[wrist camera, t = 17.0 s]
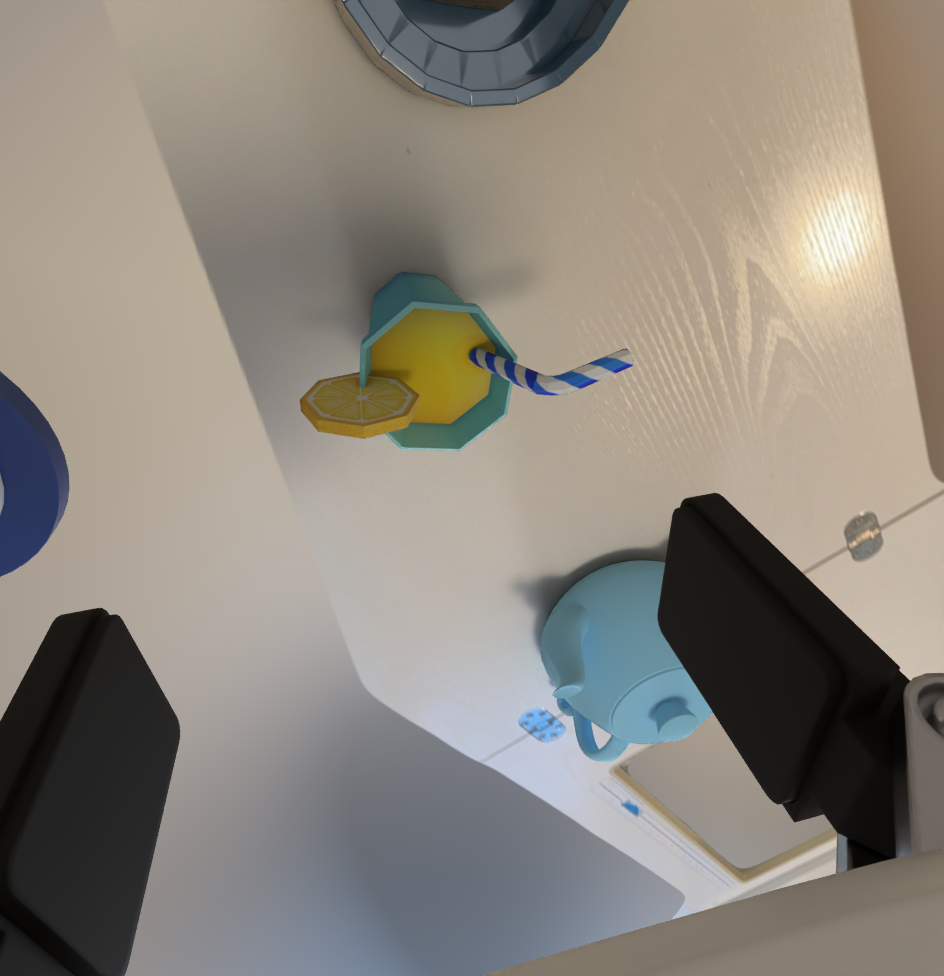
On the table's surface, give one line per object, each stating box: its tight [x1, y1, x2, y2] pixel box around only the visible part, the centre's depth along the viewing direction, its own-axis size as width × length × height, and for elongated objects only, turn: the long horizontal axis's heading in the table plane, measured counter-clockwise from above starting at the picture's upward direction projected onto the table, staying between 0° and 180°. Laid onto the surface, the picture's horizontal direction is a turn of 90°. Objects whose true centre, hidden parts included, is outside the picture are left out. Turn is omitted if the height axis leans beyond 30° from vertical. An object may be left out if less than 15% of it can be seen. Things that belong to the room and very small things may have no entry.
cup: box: [300, 272, 634, 451], centre depth 30 cm, size 14×8×15 cm, turn 105°
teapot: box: [541, 560, 713, 762], centre depth 49 cm, size 17×19×12 cm
